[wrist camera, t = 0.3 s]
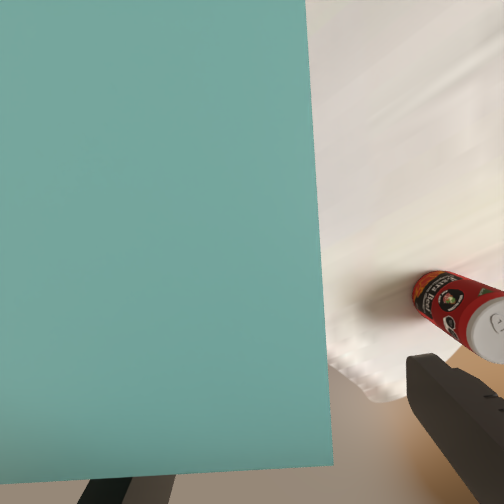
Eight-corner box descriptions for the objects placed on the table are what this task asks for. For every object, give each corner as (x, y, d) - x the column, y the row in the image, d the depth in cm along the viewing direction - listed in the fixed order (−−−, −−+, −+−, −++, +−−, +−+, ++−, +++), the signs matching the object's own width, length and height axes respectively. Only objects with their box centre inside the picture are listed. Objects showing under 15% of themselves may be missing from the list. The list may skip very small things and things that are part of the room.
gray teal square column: (207, 183, 35) (-289, 32, 3) (263, 176, 34) (300, -74, 3) (215, 239, 36) (-66, 487, 5) (269, 233, 36) (333, 465, 5)
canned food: (431, 259, 36) (505, 285, 25) (474, 286, 36) (564, 323, 26) (399, 301, 37) (454, 342, 27) (440, 326, 38) (512, 376, 27)
